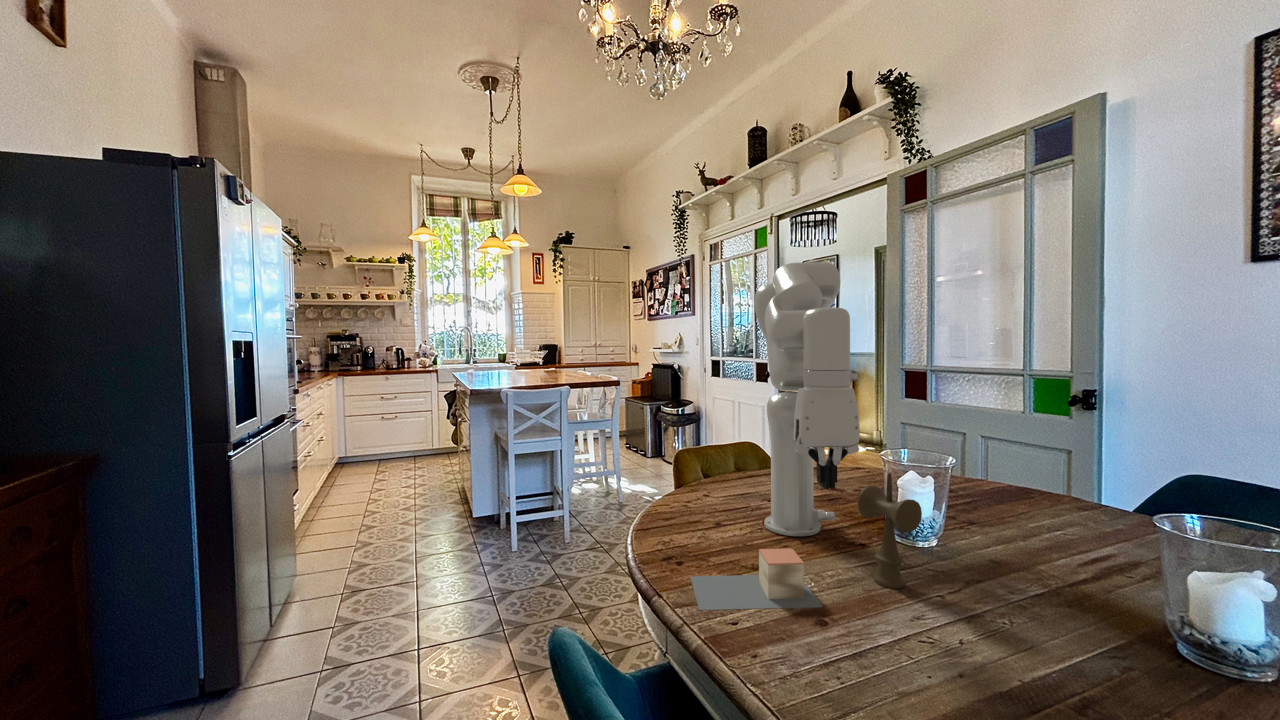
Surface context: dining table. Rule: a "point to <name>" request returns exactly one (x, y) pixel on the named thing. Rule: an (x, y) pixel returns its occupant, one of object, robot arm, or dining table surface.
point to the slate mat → (742, 594)
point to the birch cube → (781, 573)
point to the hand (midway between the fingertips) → (826, 486)
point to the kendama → (889, 529)
